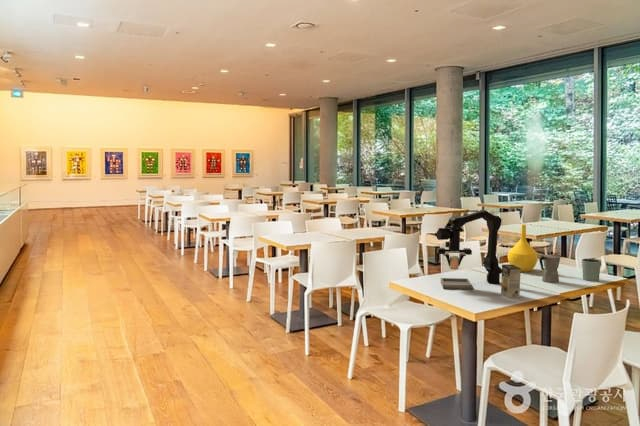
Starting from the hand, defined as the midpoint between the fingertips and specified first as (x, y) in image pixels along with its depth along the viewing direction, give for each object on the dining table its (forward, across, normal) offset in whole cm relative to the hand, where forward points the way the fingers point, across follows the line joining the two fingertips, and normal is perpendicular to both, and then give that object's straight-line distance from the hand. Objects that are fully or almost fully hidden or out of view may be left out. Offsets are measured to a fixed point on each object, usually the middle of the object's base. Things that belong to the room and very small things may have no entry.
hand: (453, 265), depth 285 cm
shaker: (+2, 0, 0) cm, 2 cm away
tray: (+12, -1, 0) cm, 12 cm away
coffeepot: (+12, -57, -16) cm, 61 cm away
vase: (+12, -50, -45) cm, 68 cm away
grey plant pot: (+11, -83, -22) cm, 87 cm away
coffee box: (+12, -27, +18) cm, 35 cm away
